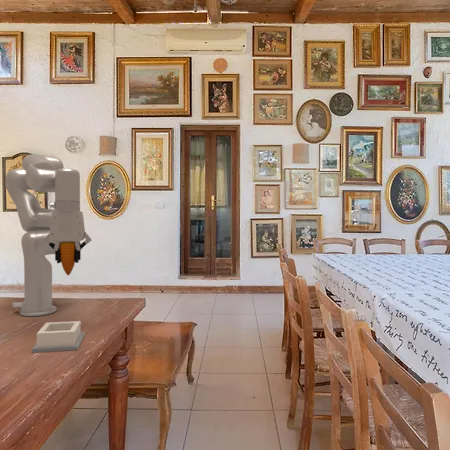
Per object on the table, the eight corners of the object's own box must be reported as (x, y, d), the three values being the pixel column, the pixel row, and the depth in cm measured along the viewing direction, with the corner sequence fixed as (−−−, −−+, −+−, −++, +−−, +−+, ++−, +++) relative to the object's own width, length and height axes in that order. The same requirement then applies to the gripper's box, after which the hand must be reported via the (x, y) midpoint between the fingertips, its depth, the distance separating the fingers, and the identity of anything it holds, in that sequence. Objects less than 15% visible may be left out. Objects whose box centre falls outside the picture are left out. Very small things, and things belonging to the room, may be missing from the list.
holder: (31, 352, 100) (31, 334, 99) (43, 337, 111) (43, 321, 111) (77, 349, 102) (77, 332, 102) (84, 335, 114) (84, 319, 114)
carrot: (79, 274, 119) (79, 229, 119) (69, 276, 114) (68, 230, 114) (67, 273, 121) (67, 229, 120) (56, 276, 116) (55, 229, 116)
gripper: (36, 206, 111) (36, 264, 112) (93, 207, 115) (94, 263, 116) (42, 207, 119) (42, 261, 119) (96, 207, 123) (96, 260, 123)
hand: (68, 262), depth 117 cm, fingers closed on carrot, 4 cm apart
